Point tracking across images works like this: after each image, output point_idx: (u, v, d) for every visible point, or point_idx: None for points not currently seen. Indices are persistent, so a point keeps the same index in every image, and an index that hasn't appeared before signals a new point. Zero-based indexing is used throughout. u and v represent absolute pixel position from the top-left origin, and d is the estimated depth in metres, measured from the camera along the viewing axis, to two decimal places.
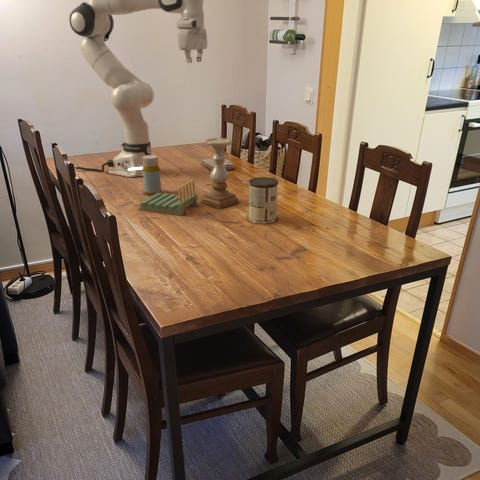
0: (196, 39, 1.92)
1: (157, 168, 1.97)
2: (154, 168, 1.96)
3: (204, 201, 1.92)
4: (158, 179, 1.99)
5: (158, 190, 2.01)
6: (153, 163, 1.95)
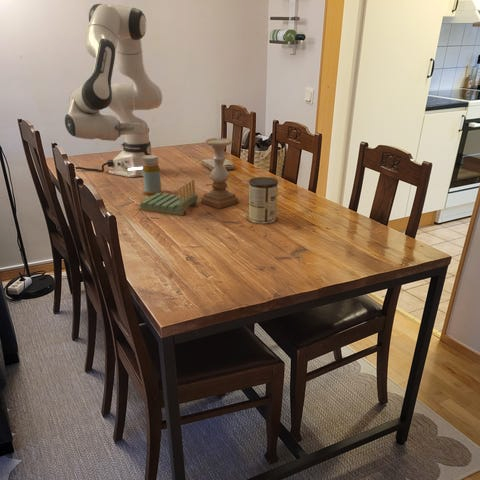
0: (121, 134, 1.85)
1: (157, 168, 1.97)
2: (154, 168, 1.96)
3: (204, 201, 1.92)
4: (158, 179, 1.99)
5: (158, 190, 2.01)
6: (153, 163, 1.95)
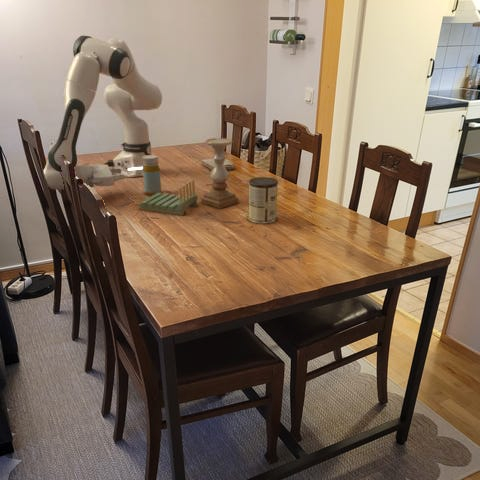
0: None
1: (157, 168, 1.97)
2: (154, 168, 1.96)
3: (204, 201, 1.92)
4: (158, 179, 1.99)
5: (158, 190, 2.01)
6: (153, 163, 1.95)
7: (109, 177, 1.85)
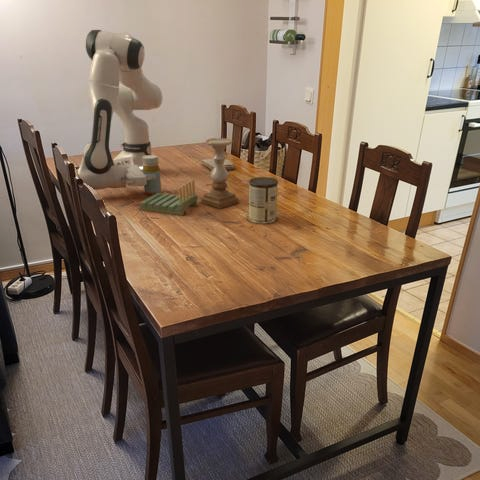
0: None
1: (157, 168, 1.97)
2: (154, 168, 1.96)
3: (204, 201, 1.92)
4: (158, 179, 1.99)
5: (158, 190, 2.01)
6: (153, 163, 1.95)
7: (142, 177, 1.89)
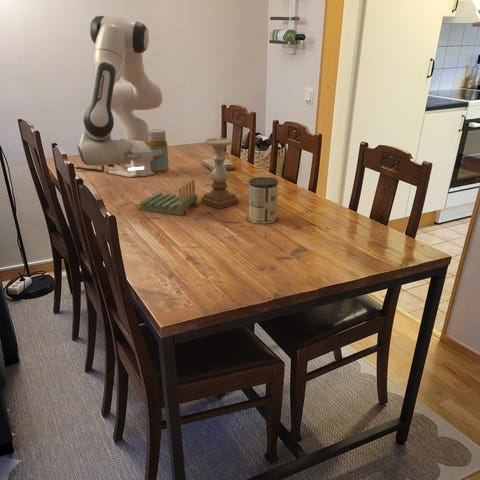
0: None
1: (164, 143, 1.81)
2: (161, 143, 1.80)
3: (204, 201, 1.92)
4: (165, 155, 1.83)
5: (165, 167, 1.85)
6: (160, 137, 1.79)
7: (148, 152, 1.74)
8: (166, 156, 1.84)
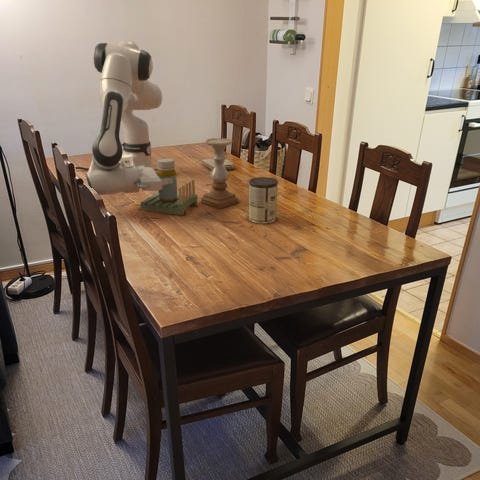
0: None
1: (173, 172, 1.80)
2: (170, 172, 1.78)
3: (204, 201, 1.92)
4: (174, 184, 1.82)
5: (174, 196, 1.84)
6: (169, 167, 1.78)
7: (157, 181, 1.72)
8: (175, 185, 1.82)
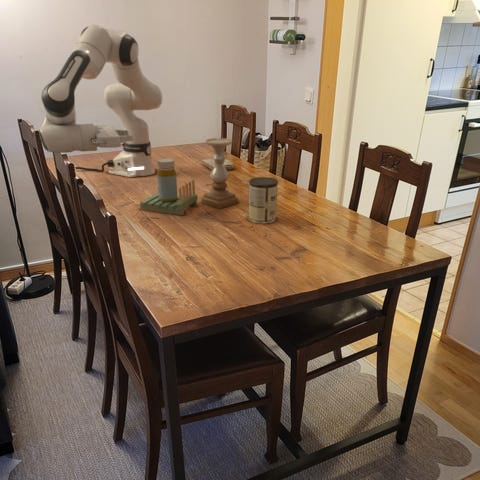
0: None
1: (173, 172, 1.80)
2: (170, 172, 1.78)
3: (204, 201, 1.92)
4: (174, 184, 1.82)
5: (174, 196, 1.84)
6: (169, 167, 1.78)
7: (115, 137, 1.60)
8: (175, 185, 1.82)
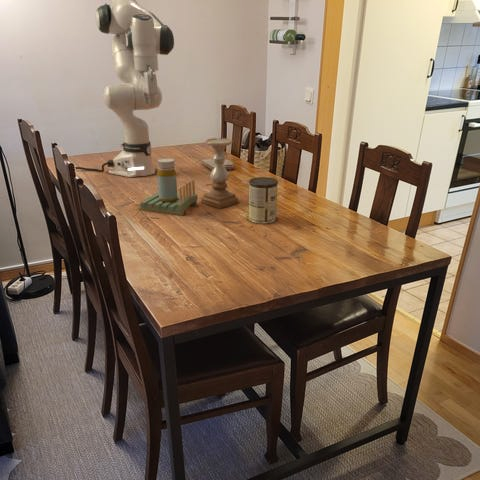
0: (142, 81, 1.84)
1: (173, 172, 1.80)
2: (170, 172, 1.78)
3: (204, 201, 1.92)
4: (174, 184, 1.82)
5: (174, 196, 1.84)
6: (169, 167, 1.78)
7: (156, 90, 1.77)
8: (175, 185, 1.82)
